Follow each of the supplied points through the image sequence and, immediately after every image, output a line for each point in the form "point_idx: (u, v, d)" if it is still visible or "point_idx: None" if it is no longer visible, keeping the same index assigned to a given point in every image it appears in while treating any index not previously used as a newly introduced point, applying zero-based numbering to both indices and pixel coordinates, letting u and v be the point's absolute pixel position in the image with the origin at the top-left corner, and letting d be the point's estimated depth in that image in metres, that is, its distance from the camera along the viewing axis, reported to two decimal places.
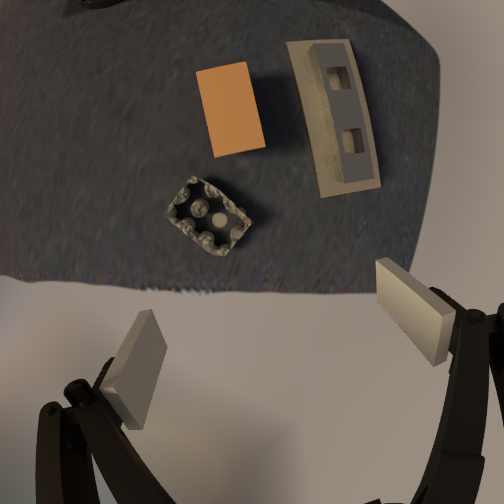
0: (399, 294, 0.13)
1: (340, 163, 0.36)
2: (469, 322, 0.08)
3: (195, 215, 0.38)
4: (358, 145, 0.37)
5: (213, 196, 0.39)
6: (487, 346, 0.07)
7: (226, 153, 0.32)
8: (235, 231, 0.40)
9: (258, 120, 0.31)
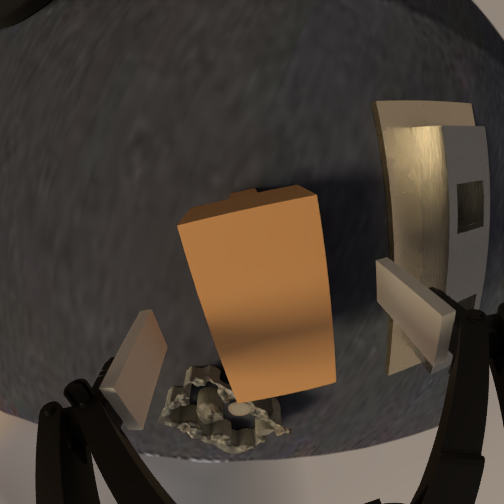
0: (399, 294, 0.13)
1: None
2: (469, 322, 0.08)
3: (205, 422, 0.22)
4: None
5: (231, 399, 0.22)
6: (487, 346, 0.07)
7: (260, 397, 0.16)
8: (263, 429, 0.24)
9: (331, 342, 0.14)
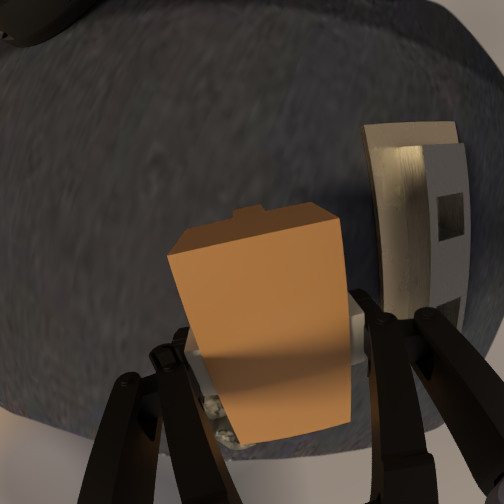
0: None
1: None
2: (378, 326, 0.10)
3: (211, 417, 0.24)
4: (447, 312, 0.22)
5: None
6: (404, 346, 0.09)
7: (266, 439, 0.13)
8: None
9: (347, 383, 0.12)
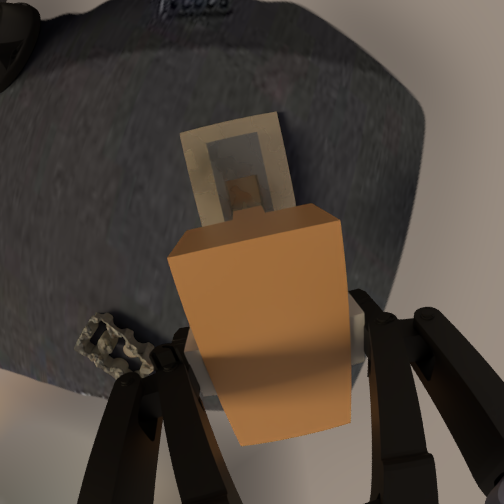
0: None
1: None
2: (378, 326, 0.10)
3: (101, 353, 0.32)
4: None
5: (116, 336, 0.33)
6: (403, 346, 0.09)
7: (266, 441, 0.13)
8: (143, 368, 0.34)
9: (348, 385, 0.12)
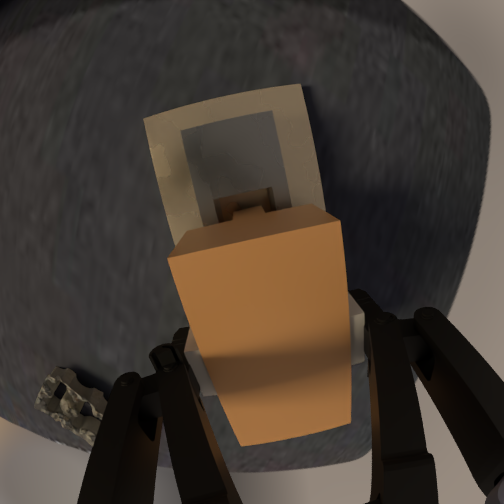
0: None
1: None
2: (378, 326, 0.10)
3: (66, 415, 0.21)
4: None
5: (81, 400, 0.21)
6: (404, 345, 0.09)
7: (266, 441, 0.13)
8: None
9: (348, 385, 0.12)
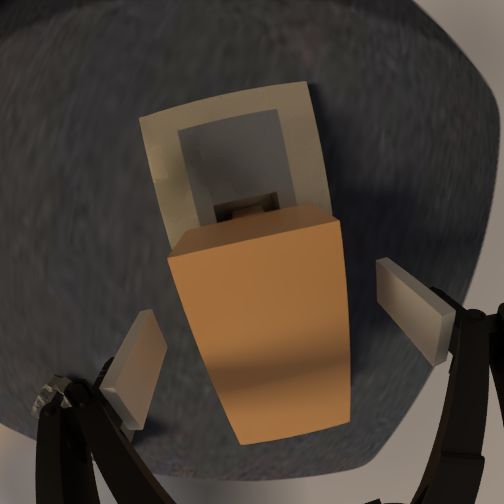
0: (399, 294, 0.13)
1: None
2: (469, 322, 0.08)
3: None
4: None
5: None
6: (487, 346, 0.07)
7: (266, 439, 0.13)
8: None
9: (347, 384, 0.12)
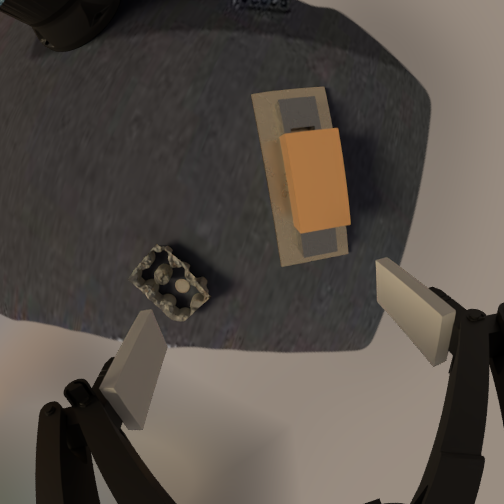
0: (399, 294, 0.13)
1: (300, 236, 0.36)
2: (469, 322, 0.08)
3: (157, 283, 0.39)
4: None
5: (176, 266, 0.39)
6: (487, 346, 0.07)
7: (312, 230, 0.32)
8: (195, 300, 0.41)
9: (346, 196, 0.31)
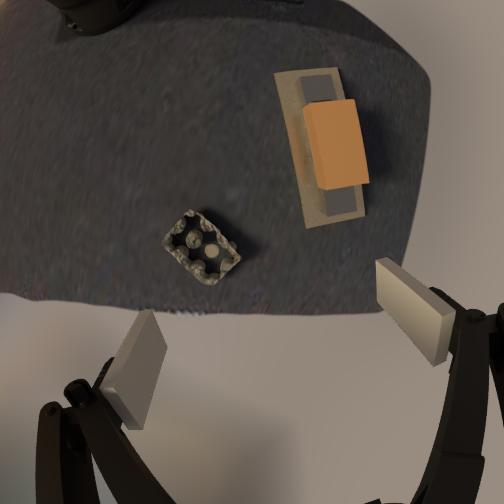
0: (399, 293, 0.13)
1: (324, 197, 0.39)
2: (469, 322, 0.08)
3: (189, 246, 0.41)
4: None
5: (207, 230, 0.42)
6: (487, 346, 0.07)
7: (336, 187, 0.34)
8: (225, 264, 0.43)
9: (364, 158, 0.33)
